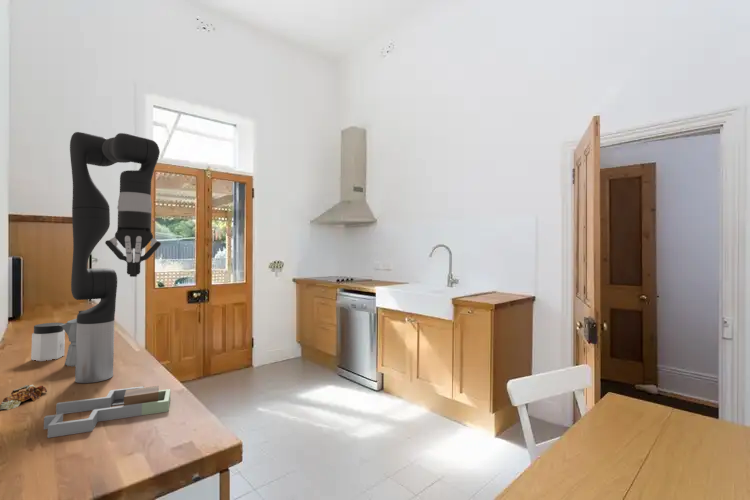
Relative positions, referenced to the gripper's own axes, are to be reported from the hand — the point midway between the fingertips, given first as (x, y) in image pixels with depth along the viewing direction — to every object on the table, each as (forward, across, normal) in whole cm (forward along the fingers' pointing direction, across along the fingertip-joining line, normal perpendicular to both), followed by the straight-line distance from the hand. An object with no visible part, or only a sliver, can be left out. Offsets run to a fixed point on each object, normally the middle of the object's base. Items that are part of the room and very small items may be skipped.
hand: (133, 276), depth 100 cm
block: (+32, -4, +9) cm, 34 cm away
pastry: (+33, +25, -9) cm, 42 cm away
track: (+32, +2, +9) cm, 33 cm away
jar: (+32, +32, -55) cm, 71 cm away
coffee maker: (+32, +19, -44) cm, 58 cm away
